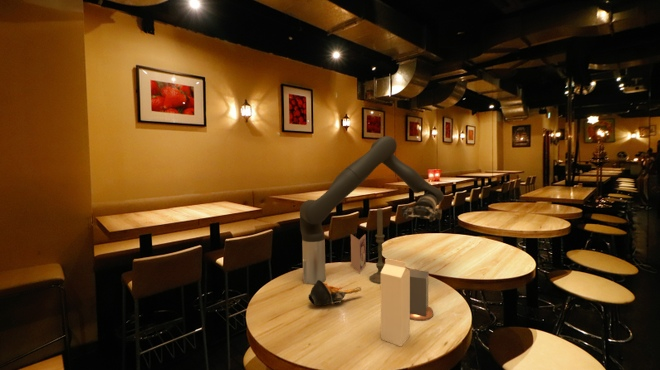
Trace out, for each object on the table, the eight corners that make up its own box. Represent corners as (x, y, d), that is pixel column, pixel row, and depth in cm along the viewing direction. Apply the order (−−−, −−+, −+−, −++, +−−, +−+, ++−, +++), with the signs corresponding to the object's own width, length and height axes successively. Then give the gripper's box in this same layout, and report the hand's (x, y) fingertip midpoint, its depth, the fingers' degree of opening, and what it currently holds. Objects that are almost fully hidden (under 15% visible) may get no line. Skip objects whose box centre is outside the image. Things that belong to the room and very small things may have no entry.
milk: (390, 329, 87) (389, 255, 85) (410, 336, 83) (410, 259, 82) (380, 339, 82) (379, 261, 80) (401, 347, 78) (401, 265, 77)
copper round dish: (407, 321, 91) (407, 303, 90) (396, 306, 101) (396, 289, 100) (438, 319, 92) (439, 301, 91) (425, 303, 102) (425, 287, 101)
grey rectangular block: (405, 312, 95) (404, 275, 94) (408, 303, 100) (408, 269, 99) (426, 316, 92) (426, 278, 91) (428, 307, 98) (428, 271, 97)
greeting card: (361, 273, 130) (361, 240, 129) (345, 272, 132) (344, 238, 131) (367, 265, 141) (367, 233, 139) (352, 263, 143) (351, 232, 142)
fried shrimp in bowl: (301, 288, 105) (340, 263, 114) (315, 317, 104) (354, 289, 112) (309, 288, 97) (351, 261, 106) (325, 320, 96) (366, 289, 104)
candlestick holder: (394, 277, 125) (394, 206, 122) (386, 285, 117) (386, 210, 115) (374, 273, 130) (373, 205, 127) (365, 281, 122) (364, 208, 120)
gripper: (407, 196, 122) (398, 205, 108) (444, 199, 116) (439, 209, 102) (407, 214, 124) (397, 225, 109) (443, 218, 117) (438, 230, 103)
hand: (417, 217), depth 105 cm, fingers open, 8 cm apart
